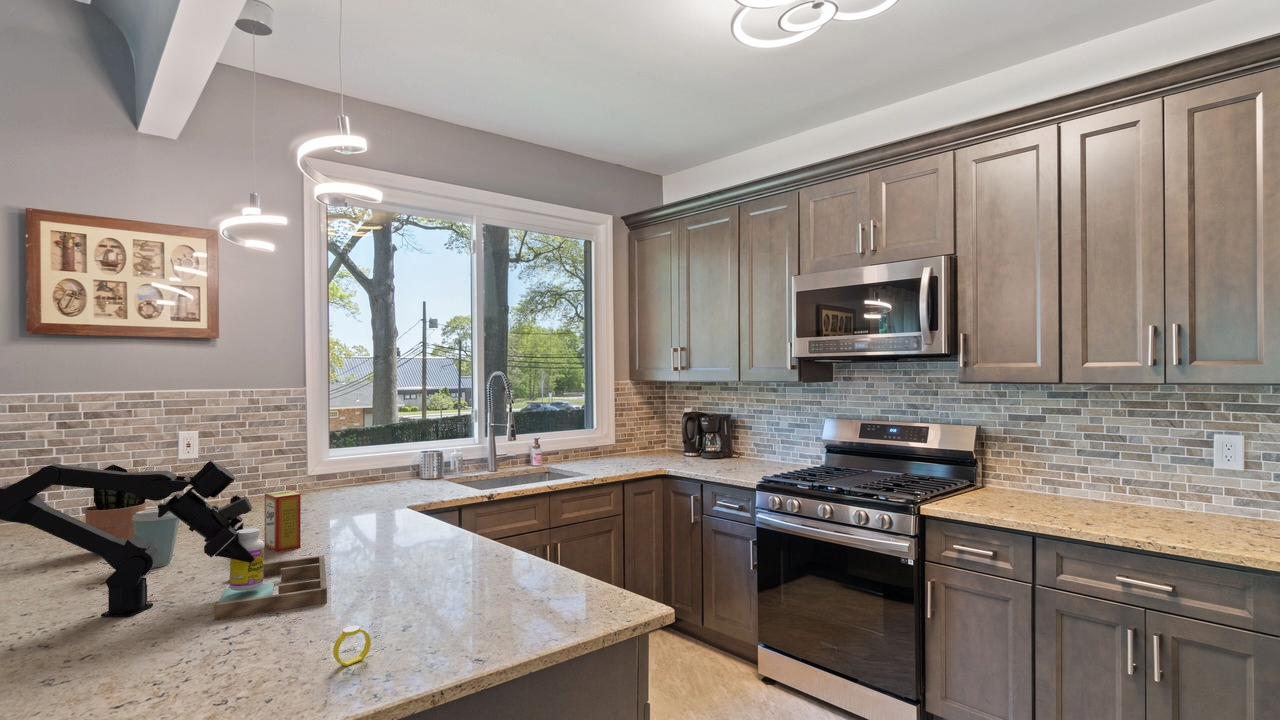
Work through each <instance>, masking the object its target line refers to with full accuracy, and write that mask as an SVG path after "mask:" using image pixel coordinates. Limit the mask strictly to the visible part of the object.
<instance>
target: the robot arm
mask: <svg viewBox="0 0 1280 720" xmlns="http://www.w3.org/2000/svg"><path fill="white" fill-rule="evenodd" d="M234 481H236V477H235V475H234V474H233V473H232V472H231V471H229V470H228V469H227V468H226V467H224V466H221V465H220V464H218V463H216V462H215V461H214V460H211V459H210V460H209V461H208V462H206V463H205V465H204V466H203V467H202V468H201V469H200V470H198V471H197V473H195V474H194V475H193V476H188V475H187V476H186V475H185V476H184V475H183V476H182V475H175V473H174V472H172V471H168V470H148V471H136V472H135V471H133V472H128V471H127V472H119V471H109V470H103V469H99V468H90V467H82V466H81V467H80V466H72V465H71V466H69V465H63V464H61V463H52V464H47V465H46V466H43V467H41V468H40V469H39V470H37V471H36V472H34V473H33V474H31V475H29V476H27V477H24V478H22V479H20V480H19V481H17V482H15V483H10V484H5V485H2V486H0V520H1V521H4V522H9V523H15V524H21V525H23V524H24V525H27V526H28V525H29V526H32V527H33V528H35V529H38V530H40V531H43V532H45V533H47V534H49V535H52V536H53V537H57V538H58V539H60V540H63V541H65V542H68V543H69V544H72V545H74V546H77V547H79V548H81V549H84V550H86V551H88V552H90V553H92V554H95V555H96V556H99V557H101V558H102V559H103V560H104V561H105V562H106V563H107V564H108V565H109V566H110V567H111V568H112V569H113V570H114V571H113V572H112V573H111V574H110V575H109V576H108V577H107V578H106V579H105V584H106V586H107V588H108V592H107V593H108V597H107V599H108V601H107V602H108V603H107V605H108V606H107V607H108V609H107V611H105V612H102V613H101V614H100V617H132V616H134V615H136V614H138V613H141V612H143V611H145V610H147V609H149V608H152V607H153V606H154V603H153V602H149V603H148V584H147V577H145V576H146V575H147V574H148V573H149V572H150V571H152V569H153V568H152V567H153V566H154V565H155V564H156V562H157V560H158V557H159V554H158V550H157V548H156V547H154V546H153V545H151V544H152V543H153V542H152V541H146V540H144V539H142V538H141V537H139V536H138V535H136V534H133V535H132V536H131V537H130V538H129V539H122V538H117V537H115V536H113V535H110V534H108V533H106V532H104V531H102V530H100V529H97V528H95V527H93V526H91V525H89V524H86V522H84V521H82V520H79V519H78V518H75V517H73V516H71V515H69V514H67V513H64V512H62V511H60V510H58V509H55V508H54V507H51V506H50V505H48V504H47V503H46V501H44V500H43V499H42V498H41V497H40V496H39V495H38V494H40V493H41V492H43V491H45V490H47V489H48V488H50V487H52V486H62V487H63V486H64V487H65V486H66V487H74V488H75V487H76V488H82V489H91V490H92V489H93V490H94V489H102V490H113V491H121V492H125V493H128V494H131V495H133V496H136V497H140V498H144V499H146V500H149V501H153V502H157V501H158V502H159V501H163V500H165V499H167V498H168V497H170V496H171V495H172V494H174V493H176V494H174V495H173V496H172V497H171V498H170V499H168V501H167V502H164V503H163V502H162V503H158V505H157V509H158V517H159V518H161V517H162V516H163V515H164V514H166V513H167V512H168V511H169V512H171V513H172V514H173V515H175V516H176V517H177V518H179V519H180V521H181V522H182V523H184V524H185V525H186V526H188V530H189V531H190V532H194V531H195V532H196V533H197V534H198V535H200V536H201V537H202V538H204V540H203V541H204V542H205V544H204V545H203V552H204V554H205V555H206V556H208V557H210V558H213V557H220V558H226V559H229V560H230V559H235V560H240V561H244V562H249V563H252V562H253V561H254V560H255V558H254V557H253V556H252V555H251V554H250V553H249V551H248V550H247V549H246V548H245V547H244V546H243V545H242V544H241V543H240V541H239V532H238V533H237V532H236V531H238V530H242V529H244V522H243V519H244V518H242V517H241V516H242V515H246V514H248V513H250V512H252V509H253V506H252V504H251V502H250V499H249V498H248V497H247V496H245V495H244V496H241V495H239V494H236V495H233V496H231V497H230V498H229V499H230V501H229V503H227V504H226V505H223V506H221V507H219V506H218V505H217V504H216V505H215V504H213V505H212V504H210V503H209V502H207V501H206V500H205V499H209V498H210V497H211V498H213V499H215V498H217V496H219V495H220V494H221V493H222V492H224V491H225V490H226V489H227V488H228V487H229V486H230V485H231V484H233V482H234ZM188 486H191V487H190V488H189V489H188V490H186V491H185V492H184V493H183V494H180V493H179V492H183V490H185V489H186V488H187V487H188ZM241 522H242V523H241ZM238 524H239V525H238ZM236 533H237V534H236Z"/></svg>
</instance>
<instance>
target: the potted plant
mask: <svg viewBox="0 0 1280 720" xmlns="http://www.w3.org/2000/svg"><path fill="white" fill-rule="evenodd" d="M102 470H109V471H119V472H128V470H127V469H126V468H124V467H121V466H119V465H116V464H113V463H112V464H111V465H109V466H107V467H105V468H103V469H102ZM146 500H147V499H144V498H140V497H136V496H133V495H131V494H128V493H125V492H121V491H113V490H102V489H93V503H94V505H92V506H88V507H86V508H85V509H84V518H85V523H86V524H89V525H91V526H93V527H95V528H97V529H100V530H102V531H104V532H106V533H108V534H110V535H113V536H115V537H117V538H122V539H129V538H130V537H131V536H132V535H133V534H135V530H134V523H133V520H132V519H133V515H135V513H137V512H140V511H146Z"/></svg>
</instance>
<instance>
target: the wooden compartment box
mask: <svg viewBox="0 0 1280 720" xmlns="http://www.w3.org/2000/svg"><path fill="white" fill-rule="evenodd" d="M325 561H326V560H325V555H316V556H310V557H301V558H292V559H286V560H285V559H284V560H275V561H270V562H269V561H268V562H264V573H263V577H268V576H275V575H280V582H282V583H283V582H289V581H296V582H289V583H283V584H278V591H277V592H278V594H273V592H274V587H275V582H267V583H263V584H262V585H261V586H259V587H257V588H254V589H250V590H244V591H236V590H232V589H230V587H229V588H225V589H224V590H223V593H222V595H221V598H220V601H219V602H217V603H214V605H213V607H214V609H213V611H214V612H213V616H214V617H213V619H214V621H218V620H224V619H231V618H237V617H242V616H243V617H244V616H250V615H255V614H263V613H267V612H268V613H269V612H276V611H282V610H287V609H294V608H300V607H308V606H314V605H320V604H327V603H328V585H327V574H326V572H327V570H326V562H325ZM311 578H317V579H311ZM305 579H311V580H305ZM297 580H303V581H297Z"/></svg>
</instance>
